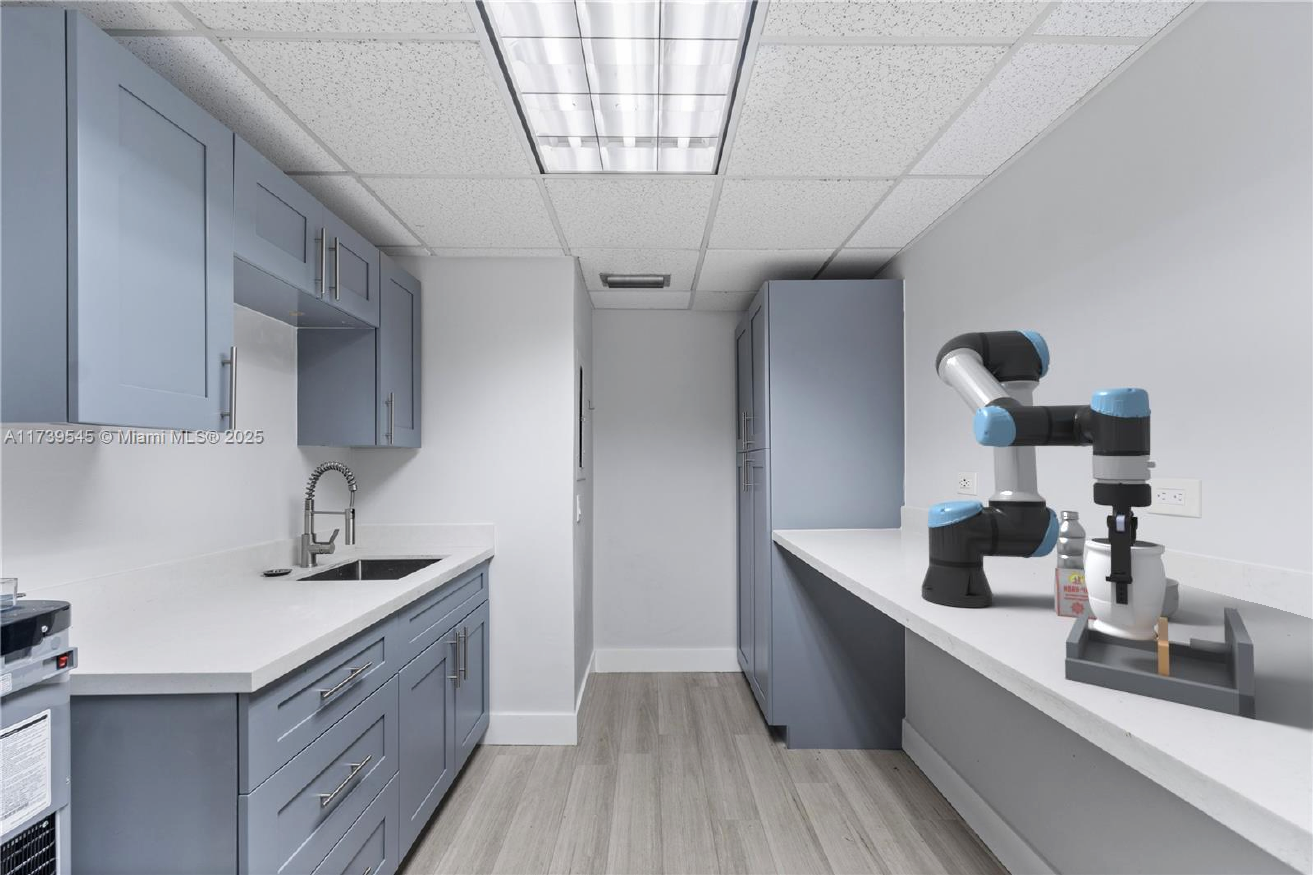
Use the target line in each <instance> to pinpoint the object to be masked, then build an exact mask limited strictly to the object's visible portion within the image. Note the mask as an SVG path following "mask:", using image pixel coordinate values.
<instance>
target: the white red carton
mask: <svg viewBox="0 0 1313 875" xmlns="http://www.w3.org/2000/svg"><path fill="white" fill-rule="evenodd" d="M1053 590H1054V591H1053V592H1054V595H1053V596H1054V600H1053V601H1054V613H1055V614H1056V616H1057V617H1064V618H1075V619H1077V616H1078V615H1084V616H1088V620H1093V621H1096V620H1097V617H1096V616H1095V615H1094V613H1093V611H1092V609H1091V606H1090V602H1089V596H1088V591H1087V587H1086V581H1085V569H1084V570H1076V569H1062V568H1057V567H1055V568H1054V586H1053Z"/></svg>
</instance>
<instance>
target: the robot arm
mask: <svg viewBox="0 0 1313 875" xmlns="http://www.w3.org/2000/svg"><path fill="white" fill-rule="evenodd" d="M1050 356H1051V355H1050V350H1049V346H1048V344H1047V341H1046V340H1045V338H1044V337H1043V336H1042V335H1041V334H1040V333H1039V332H1037V331H1035V330H1034V331H1033V330H1019V329H1013V330H1000V331H998V330H997V331H980V332H979V331H978V332H976V331H973V332H972V331H971V332H966V333H962V334H959V335H957V336H954V337H953V338H951V339H950V340H948V341H947V342H946V343H944V345H943V346H942V347H941V348H940V349H939V351H938V353H937V355H936V357H935V358H936V359H935V365H934V366H935V371H936V374H937V375H938V377H939V378H940V380H941V381H942V382H943V383H944V384H945V385H947V386H949V387H953V388H954V390H955V391H956V393H957V394H958V395H959V397H960V398H961V399H962V400H963V402H964V403H965V404H966V405H967V406H968V408H969V409H970V410H971V412H972V413H973V415H974V417H973V424H972V425H973V434H974V436H975V439H976V442H977V443H978V444H979V445H981V446H983V447H992V449H993V470H994V471H993V472H994V474H993V475H994V490H995V491H994V493H993V494H991V496H990V497H989V498H988V506H984V504H983V503H982V502H981V501H979V500H958V501H957V500H954V501H947V502H940V503H937V504H933V505H932V506H931V507H930V508H929V511H928V521H927V527H928V567H927V571H926V573H925V575H924V579H923V581H922V584H921V597H922V598H923V599H924V600H926V601H929V602H933V603H936V604H939V605H940V604H941V605H945V606H951V607H958V608H960V607H961V608H983V607H989V606H991V605H993V592H992V589H991V586H990V583H989V581H988V578H987V576H986V573H985V572H986V571H985V570H984V557H999V558H1000V557H1003V558H1004V557H1005V558H1006V557H1007V558H1025V559H1030V558H1043V557H1046V556H1048V555H1050V554H1051V553H1052V552H1053V551H1054V549H1055V547H1056V546H1057V545H1056V543H1057V540H1058V535H1059V523H1060V521H1059V518H1058V515H1057V512H1056V511H1055V510H1054V509H1053V508H1051V507H1049V506H1047V500H1046V499H1045V498H1044V497H1043V496H1042V495H1041V494H1040V493H1039V492H1038V479H1037V478H1038V474H1037V472H1038V470H1037V458H1036V457H1037V456H1036V455H1037V454H1036V452H1037V451H1036V447H1082V448H1083V447H1092V456H1091V460H1092V462H1091V463H1092V465H1091V466H1092V478H1093V479H1094V480H1096V481H1095V482H1094V484H1093V485H1092V486H1093V488H1092V489H1093V490H1092V491H1093V496H1092V497H1093V503H1095V504H1096V505H1099V506H1105V507H1109V506H1110V507H1112V509H1111V511H1112V513H1111V514H1109V515H1108V514H1107V517H1106V527H1107V528H1108V531H1107V536H1108V537H1107V538H1108V539H1109V542H1110V543H1111V574H1110V577H1109V576H1105V578H1106V581H1107V582H1111V618H1112V623H1118V624H1125V625H1131V626H1134V615H1133V583H1132V582H1133V579H1132V576H1131V547H1133V544H1135V542H1136V540H1137V530H1138V526H1139V517H1138V516H1134V515H1135V513H1134V511H1133V510H1132V508H1147V507H1150V506H1151V505H1152V503H1153V502H1152V496H1153V495H1152V485H1151V484H1150V483H1147V481H1150V480H1151V476H1152V475H1151V469H1154V468H1155V467H1157V464H1156V462H1155V461H1150V460H1151V414H1152V410H1151V409H1150V397H1149V392H1148V391H1147V390H1146V389H1143V388H1138V387H1129V388H1128V387H1124V388H1123V387H1122V388H1120V387H1119V388H1108V389H1099V390H1095V391H1094V392H1093V393H1092V395H1091V400H1090V401H1091V402H1090V404H1079V405H1078V404H1076V405H1075V404H1074V405H1066V404H1065V405H1034V401H1033V400H1034V399H1033V395H1034V394H1033V392H1034V390H1036V388H1037V387H1039V385H1040V379H1043V378H1044V377H1045V376H1046V375H1047V373H1048V372H1049V370H1050V369H1049V365H1050V364H1051V362H1050V361H1051V359H1050V358H1051V357H1050ZM1118 572H1119V573H1118ZM1124 573H1126V574H1124Z"/></svg>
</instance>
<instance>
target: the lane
mask: <svg viewBox="0 0 1313 875" xmlns="http://www.w3.org/2000/svg"><path fill="white" fill-rule="evenodd" d="M1223 612H1224V613H1223V620H1224V621H1223V626H1224V627H1223V628H1224V642H1221V641H1220V642H1219V641H1214V640H1206V639H1200V638H1194V637H1190V638H1189V643H1185V642H1179V641H1174V640H1168V642H1169V677H1167V676H1162V675H1159V672H1158V638H1157V639H1154V640H1130V639H1124V638H1118V637H1114V636H1110V635H1107V634H1104V633H1102V632H1099V631H1097V630H1096V629H1095V628H1094V627H1089V619H1088V616H1084V615H1078V616H1077V618H1075V621H1074V623H1073V625H1072V627H1071V629H1070V632H1069V634H1068V636H1067V638H1066V641H1065V653H1066V654H1065V659H1064V666H1065V667H1064V668H1065V669H1064V670H1065V672H1064V674H1065V675H1064V676H1065V678H1064V679H1065V680H1069V681H1075V682H1081V683H1085V684H1089V685H1094V686H1098V687H1103V688H1108V689H1112V690H1118V691H1122V692H1125V693H1126V692H1127V693H1131V694H1136V695H1141V696H1145V697H1151V698H1155V699H1158V700H1164V701H1167V702H1168V701H1169V702H1173V703H1178V704H1181V705H1183V704H1184V705H1188V706H1193V707H1196V708H1201V709H1206V710H1211V711H1217V712H1220V713H1225V714H1230V715H1234V716H1239V717H1243V718H1249V719H1254V720H1256V708H1255V707H1256V706H1255V705H1256V704H1255V702H1256V701H1255V700H1256V699H1255V695H1256V694H1255V660H1254V659H1255V658H1254V656H1255V655H1254V648H1255V647H1254V643H1253V640H1252V639H1251V636H1250V635H1249V632H1248V630H1247V628H1246V626H1245V624H1244V621H1243V618H1242V617H1241V615H1240V613H1239V611H1238V609H1237V608H1233V607H1232V608H1231V607H1225V606H1224V607H1223Z"/></svg>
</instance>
